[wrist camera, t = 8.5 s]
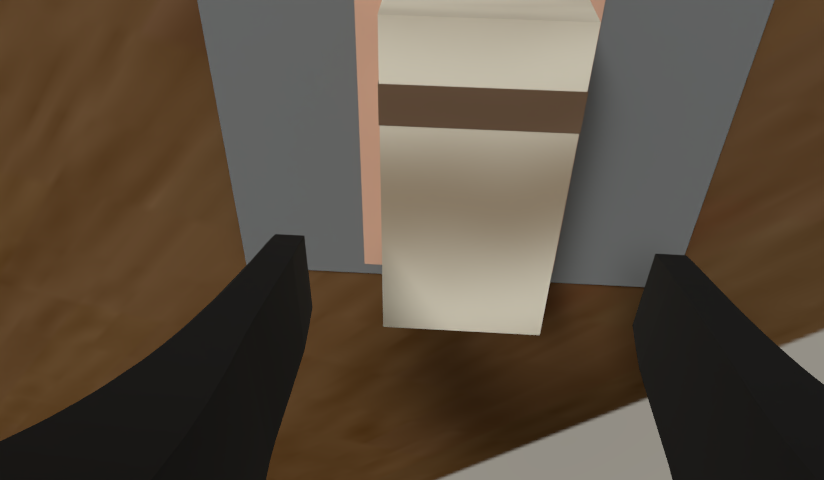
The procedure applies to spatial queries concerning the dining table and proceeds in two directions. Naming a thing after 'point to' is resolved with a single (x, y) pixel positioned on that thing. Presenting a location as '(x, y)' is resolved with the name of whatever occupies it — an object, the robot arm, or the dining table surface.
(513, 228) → the cream banded block
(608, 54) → the mat
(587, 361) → the dining table surface
